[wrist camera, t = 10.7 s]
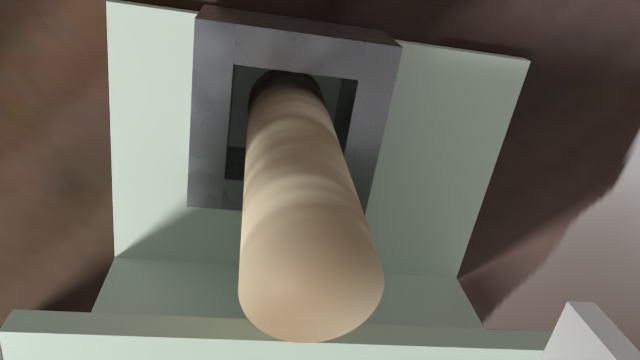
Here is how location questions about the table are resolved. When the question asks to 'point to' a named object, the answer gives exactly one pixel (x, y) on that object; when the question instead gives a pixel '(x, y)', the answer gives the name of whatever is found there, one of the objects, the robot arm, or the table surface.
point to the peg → (302, 219)
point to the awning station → (225, 225)
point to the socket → (295, 56)
